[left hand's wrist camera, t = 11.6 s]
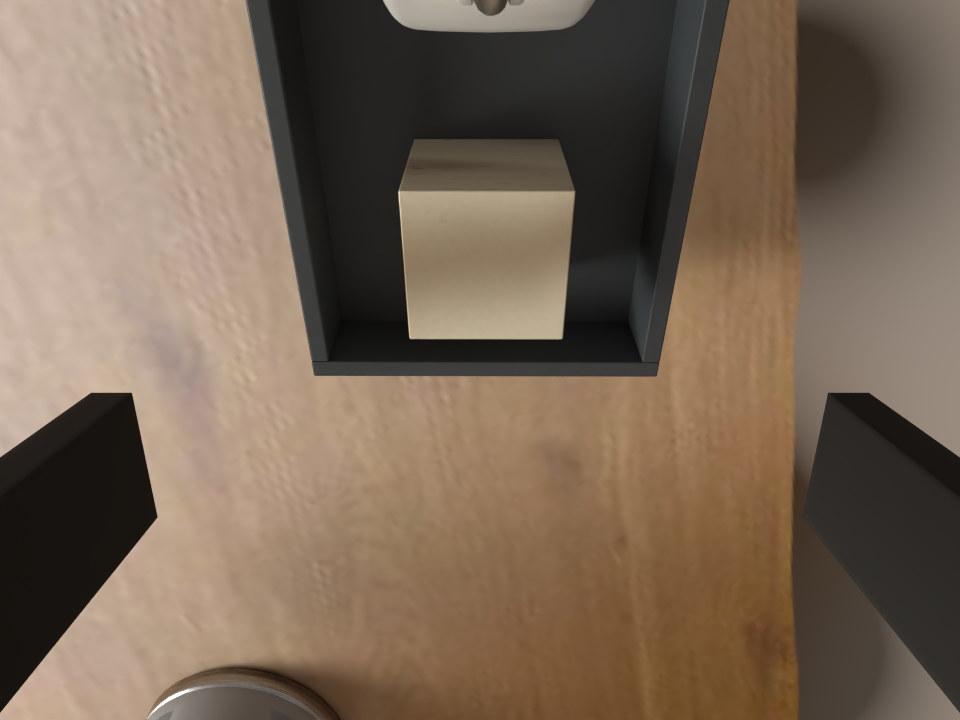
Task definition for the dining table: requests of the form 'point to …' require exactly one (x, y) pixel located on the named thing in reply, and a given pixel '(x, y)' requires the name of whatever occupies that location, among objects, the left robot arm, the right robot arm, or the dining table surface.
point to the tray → (486, 115)
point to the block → (486, 238)
